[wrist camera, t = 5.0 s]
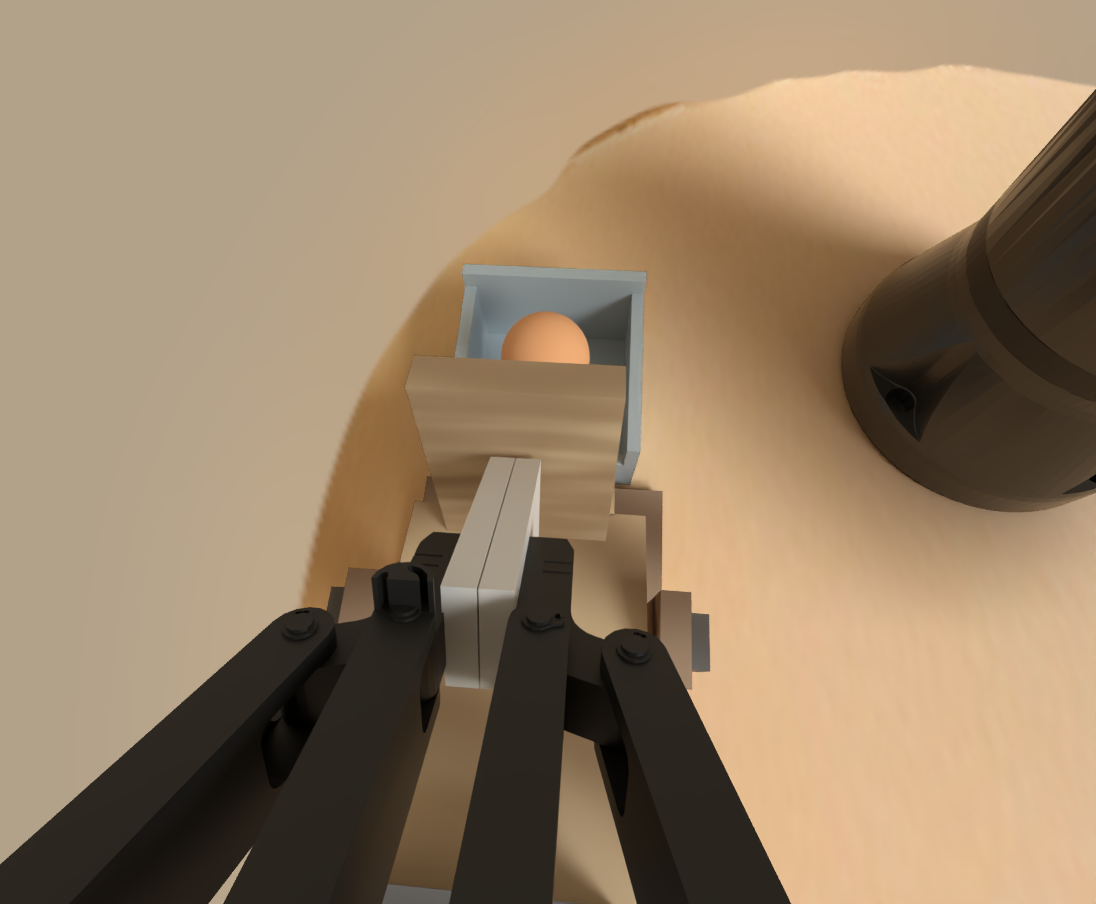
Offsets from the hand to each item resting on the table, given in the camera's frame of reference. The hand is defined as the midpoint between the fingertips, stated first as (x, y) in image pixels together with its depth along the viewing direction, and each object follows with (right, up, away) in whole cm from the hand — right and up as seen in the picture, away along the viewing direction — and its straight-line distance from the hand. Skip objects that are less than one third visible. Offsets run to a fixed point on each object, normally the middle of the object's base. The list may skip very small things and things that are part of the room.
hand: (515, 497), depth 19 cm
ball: (+1, +6, +8) cm, 10 cm away
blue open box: (+1, +4, +15) cm, 16 cm away
